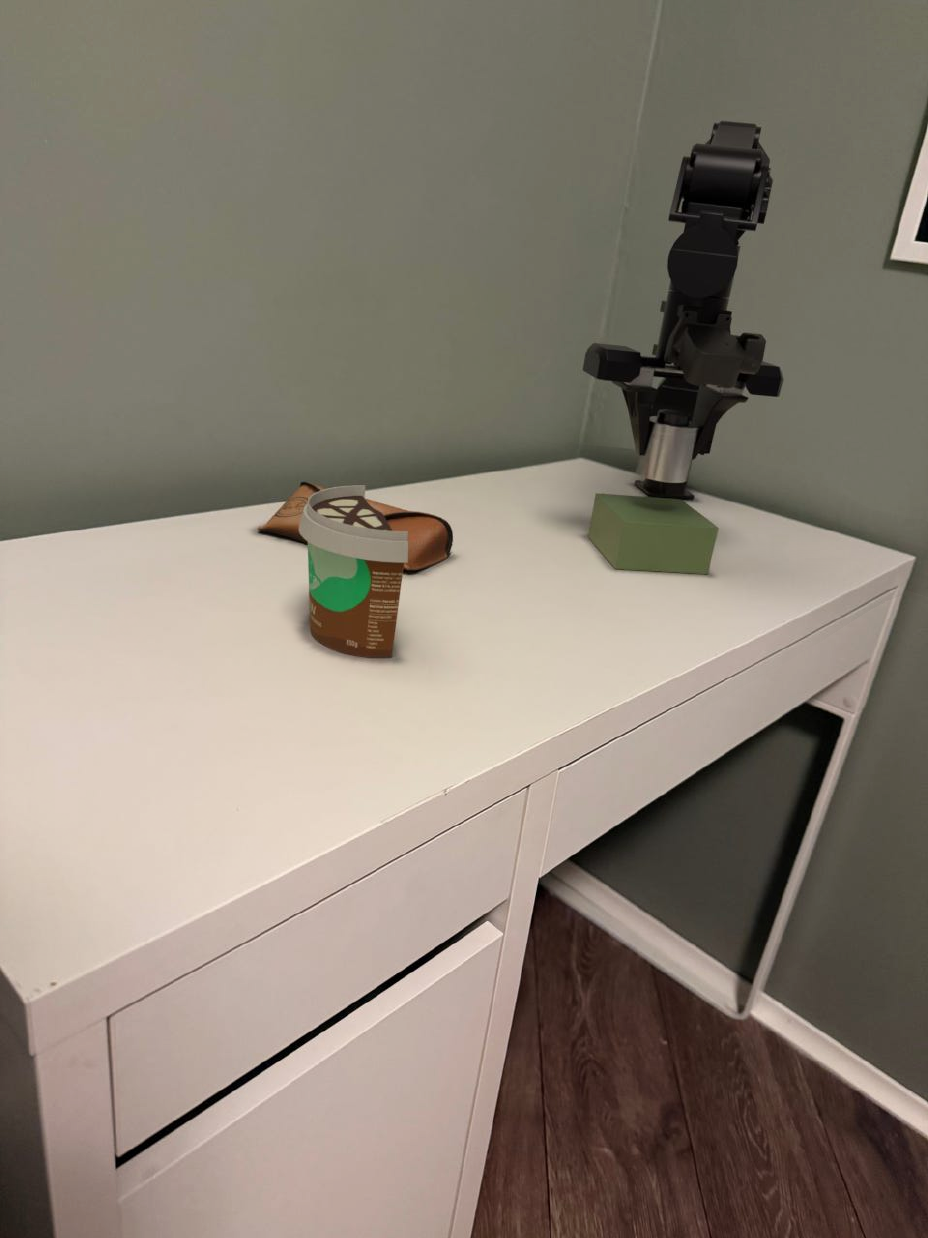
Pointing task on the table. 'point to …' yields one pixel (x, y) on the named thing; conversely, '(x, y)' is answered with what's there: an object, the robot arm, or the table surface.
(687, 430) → the flask
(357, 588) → the food container
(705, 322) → the robot arm
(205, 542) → the table surface
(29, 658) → the table surface
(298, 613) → the table surface
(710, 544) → the green block
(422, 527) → the sunglasses case
